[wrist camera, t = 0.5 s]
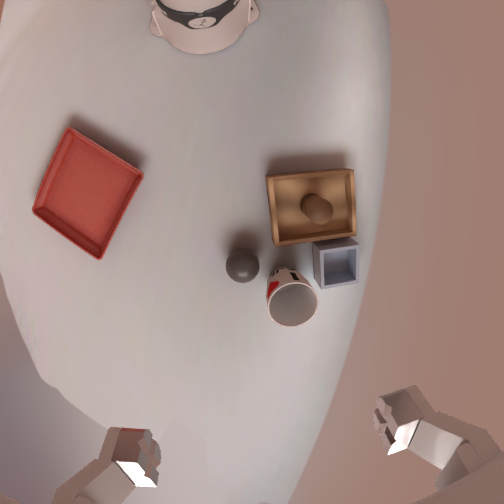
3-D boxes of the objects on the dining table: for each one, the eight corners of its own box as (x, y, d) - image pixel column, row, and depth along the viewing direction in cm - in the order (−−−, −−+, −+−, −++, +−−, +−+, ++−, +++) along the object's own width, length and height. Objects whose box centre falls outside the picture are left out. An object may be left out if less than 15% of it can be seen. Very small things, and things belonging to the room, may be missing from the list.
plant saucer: (38, 208, 47) (30, 212, 44) (75, 125, 43) (66, 124, 40) (106, 256, 52) (100, 262, 49) (151, 172, 48) (146, 174, 45)
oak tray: (265, 175, 49) (267, 177, 46) (346, 168, 49) (353, 169, 46) (272, 240, 53) (275, 246, 49) (349, 230, 53) (356, 235, 50)
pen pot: (311, 241, 53) (319, 250, 49) (348, 236, 54) (359, 244, 49) (313, 277, 56) (321, 289, 51) (349, 271, 56) (358, 282, 51)
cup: (294, 251, 54) (307, 273, 44) (310, 287, 56) (325, 313, 47) (253, 271, 54) (259, 296, 45) (272, 305, 57) (280, 335, 48)
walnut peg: (298, 194, 50) (307, 200, 44) (321, 192, 50) (332, 197, 44) (300, 217, 51) (309, 225, 45) (322, 214, 51) (334, 222, 45)
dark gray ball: (223, 247, 53) (223, 258, 47) (255, 242, 53) (259, 253, 47) (228, 276, 54) (228, 290, 49) (259, 272, 55) (262, 285, 49)
